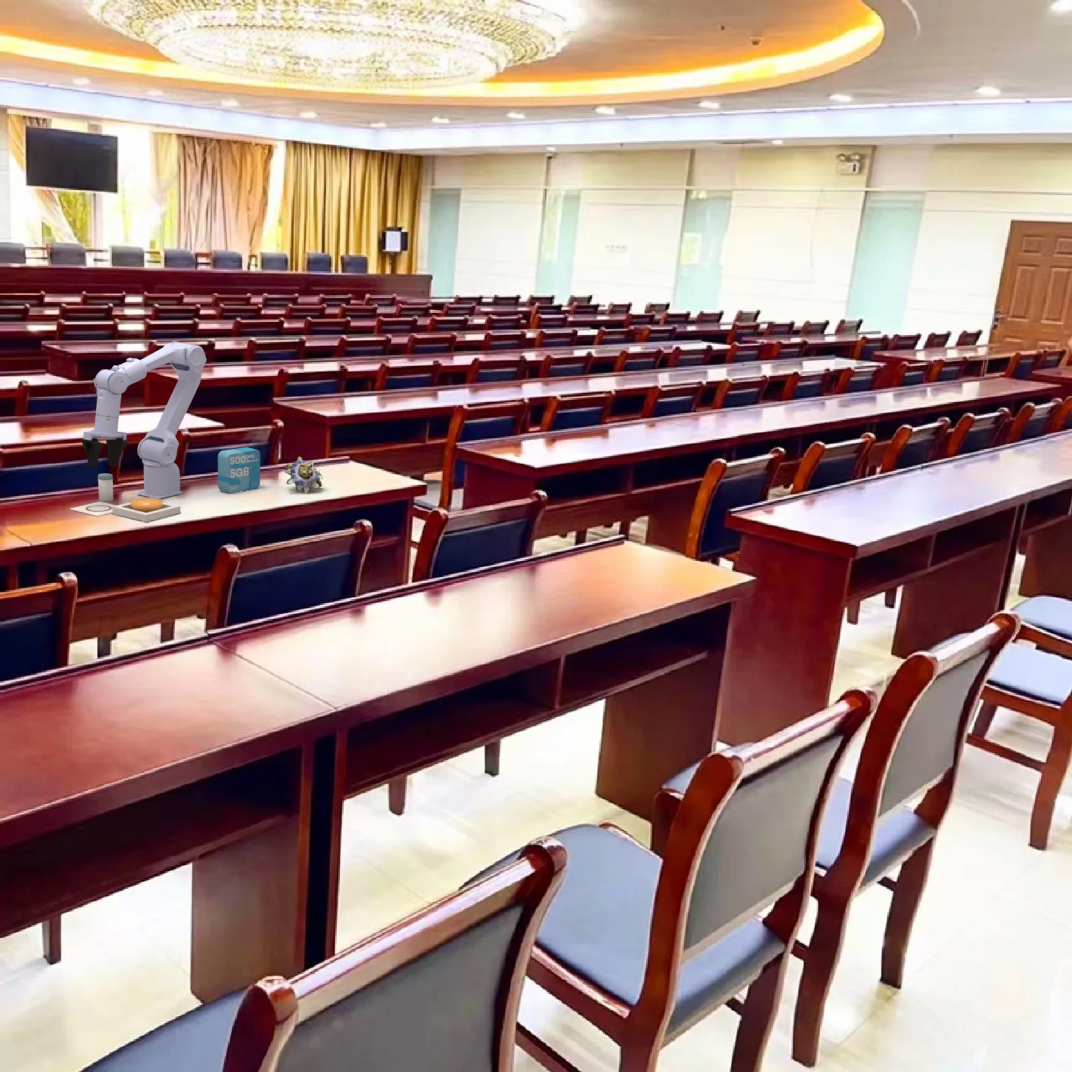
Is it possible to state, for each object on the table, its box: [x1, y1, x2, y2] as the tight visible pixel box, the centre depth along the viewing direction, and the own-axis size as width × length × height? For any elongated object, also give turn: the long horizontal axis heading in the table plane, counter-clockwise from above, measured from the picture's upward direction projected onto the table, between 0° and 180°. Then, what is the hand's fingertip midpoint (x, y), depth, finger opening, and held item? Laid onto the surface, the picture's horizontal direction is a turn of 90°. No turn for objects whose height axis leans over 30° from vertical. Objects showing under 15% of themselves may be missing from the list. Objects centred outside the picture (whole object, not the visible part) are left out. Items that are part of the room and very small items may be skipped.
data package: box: [217, 447, 261, 494], centre depth 306 cm, size 12×4×12 cm, turn 145°
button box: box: [111, 501, 181, 523], centre depth 276 cm, size 12×12×2 cm
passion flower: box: [283, 456, 324, 493], centre depth 313 cm, size 11×11×12 cm
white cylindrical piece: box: [97, 473, 114, 502], centre depth 285 cm, size 4×4×7 cm
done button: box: [129, 497, 164, 511], centre depth 275 cm, size 8×8×2 cm
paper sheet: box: [69, 501, 117, 517], centre depth 276 cm, size 10×10×1 cm
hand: (102, 466), depth 277 cm, fingers open, 7 cm apart
